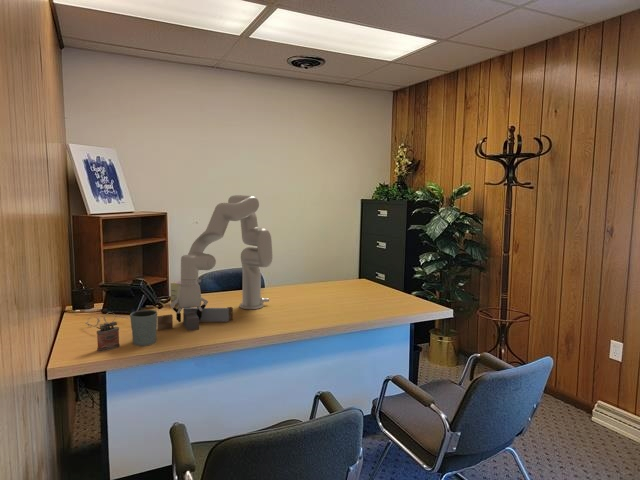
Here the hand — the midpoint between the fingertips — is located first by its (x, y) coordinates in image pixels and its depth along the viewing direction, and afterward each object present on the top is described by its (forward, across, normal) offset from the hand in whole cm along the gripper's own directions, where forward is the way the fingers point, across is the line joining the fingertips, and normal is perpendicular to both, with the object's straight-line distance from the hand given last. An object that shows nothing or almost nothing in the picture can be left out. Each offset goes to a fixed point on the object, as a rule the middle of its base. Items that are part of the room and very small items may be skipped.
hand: (189, 320), depth 193 cm
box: (+2, -6, -37) cm, 38 cm away
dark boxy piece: (+2, 0, +3) cm, 4 cm away
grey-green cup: (+3, +21, +14) cm, 25 cm away
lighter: (+3, +34, +15) cm, 37 cm away
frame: (+2, -3, +1) cm, 4 cm away
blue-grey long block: (+2, -9, -2) cm, 9 cm away
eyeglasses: (+3, +30, -11) cm, 32 cm away
